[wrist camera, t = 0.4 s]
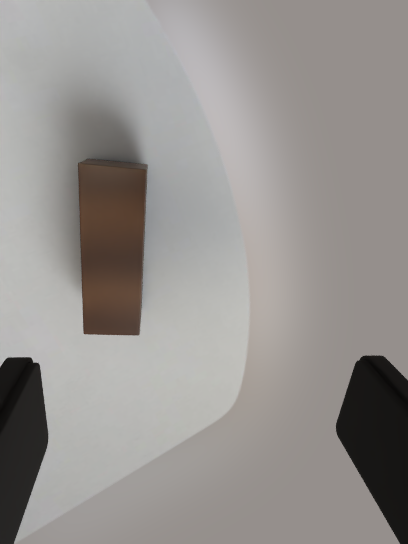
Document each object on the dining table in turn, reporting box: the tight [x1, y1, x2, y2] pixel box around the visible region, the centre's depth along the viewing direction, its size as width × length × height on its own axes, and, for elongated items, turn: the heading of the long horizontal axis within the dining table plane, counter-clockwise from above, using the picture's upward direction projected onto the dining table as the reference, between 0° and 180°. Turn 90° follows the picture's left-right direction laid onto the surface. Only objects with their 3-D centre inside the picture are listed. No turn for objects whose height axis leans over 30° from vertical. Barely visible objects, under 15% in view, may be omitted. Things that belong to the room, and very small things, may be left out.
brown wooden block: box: [78, 159, 148, 335], centre depth 24 cm, size 12×4×4 cm, turn 174°
